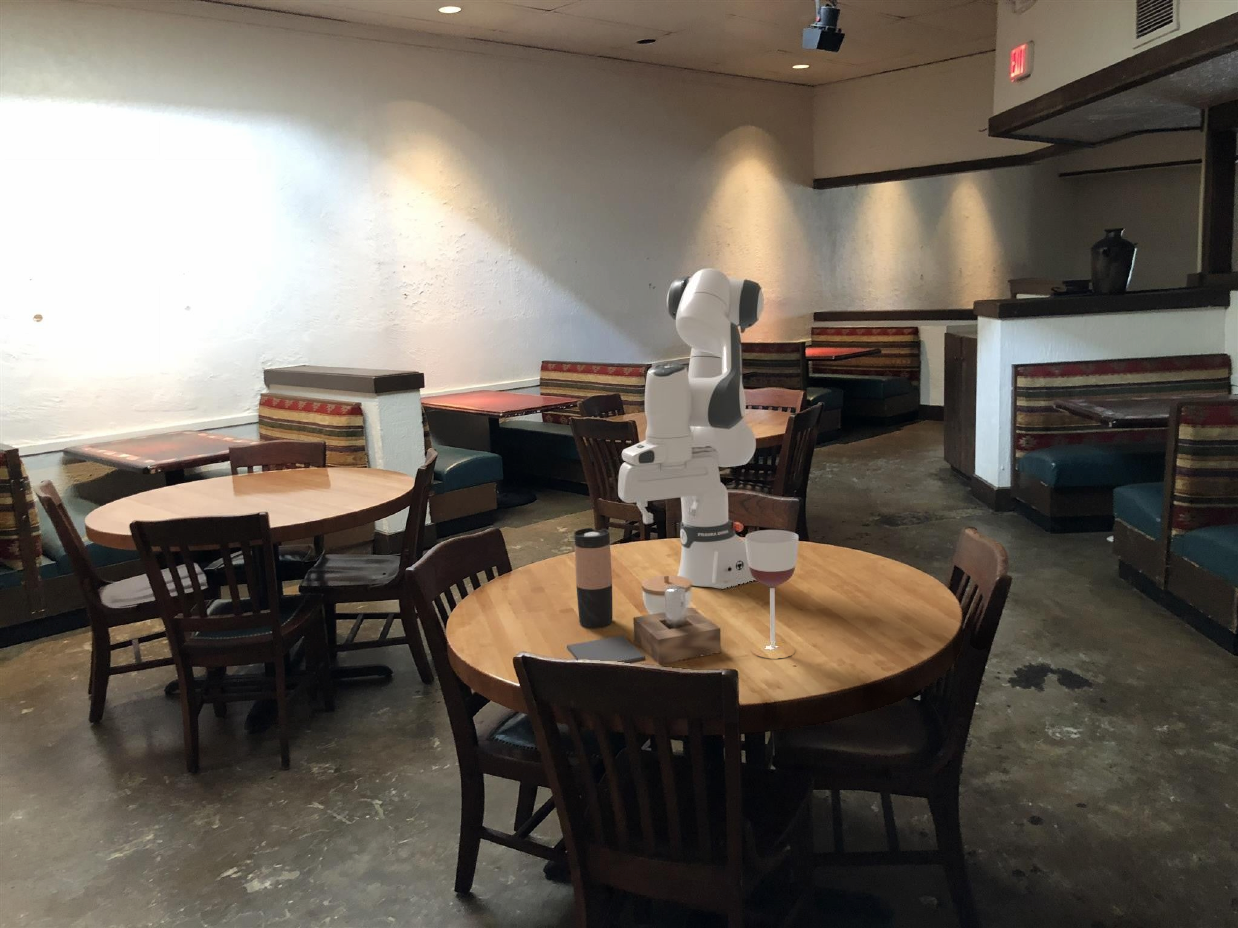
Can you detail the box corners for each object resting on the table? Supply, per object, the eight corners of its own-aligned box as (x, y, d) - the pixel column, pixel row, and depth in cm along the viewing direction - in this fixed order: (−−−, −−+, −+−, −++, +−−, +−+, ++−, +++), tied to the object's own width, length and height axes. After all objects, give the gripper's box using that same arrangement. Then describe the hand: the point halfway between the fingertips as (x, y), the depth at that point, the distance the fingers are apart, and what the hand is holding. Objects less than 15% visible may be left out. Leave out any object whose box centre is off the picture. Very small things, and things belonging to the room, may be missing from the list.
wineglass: (742, 643, 186) (740, 531, 181) (791, 639, 187) (791, 528, 182) (752, 661, 177) (751, 544, 172) (804, 657, 178) (804, 541, 173)
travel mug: (587, 631, 196) (583, 539, 192) (572, 620, 202) (567, 531, 198) (620, 623, 199) (616, 533, 195) (604, 613, 206) (599, 525, 202)
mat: (622, 637, 191) (622, 635, 191) (645, 659, 180) (644, 656, 180) (566, 648, 187) (566, 645, 187) (586, 670, 176) (585, 667, 176)
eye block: (692, 630, 194) (691, 607, 193) (720, 652, 182) (720, 628, 181) (634, 640, 189) (633, 617, 188) (659, 664, 177) (658, 639, 176)
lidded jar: (654, 606, 209) (653, 565, 207) (699, 611, 204) (698, 570, 203) (634, 622, 200) (633, 580, 198) (681, 628, 195) (680, 585, 193)
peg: (681, 641, 188) (680, 584, 186) (690, 648, 184) (688, 590, 182) (663, 644, 187) (661, 587, 184) (671, 651, 183) (669, 593, 181)
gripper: (711, 442, 184) (712, 510, 187) (613, 451, 178) (616, 522, 180) (725, 447, 179) (726, 517, 181) (625, 457, 172) (627, 529, 175)
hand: (670, 520), depth 181 cm, fingers open, 8 cm apart
